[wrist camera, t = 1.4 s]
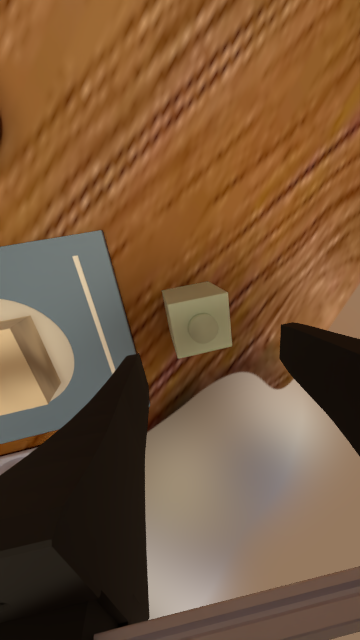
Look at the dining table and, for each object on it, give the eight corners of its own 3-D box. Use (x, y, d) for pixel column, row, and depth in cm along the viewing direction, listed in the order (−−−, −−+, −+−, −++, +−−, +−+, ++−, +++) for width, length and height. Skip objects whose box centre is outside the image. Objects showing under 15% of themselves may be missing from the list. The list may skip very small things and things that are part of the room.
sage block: (212, 324, 21) (235, 349, 16) (170, 333, 21) (179, 362, 16) (207, 281, 20) (231, 294, 15) (161, 290, 19) (168, 307, 14)
